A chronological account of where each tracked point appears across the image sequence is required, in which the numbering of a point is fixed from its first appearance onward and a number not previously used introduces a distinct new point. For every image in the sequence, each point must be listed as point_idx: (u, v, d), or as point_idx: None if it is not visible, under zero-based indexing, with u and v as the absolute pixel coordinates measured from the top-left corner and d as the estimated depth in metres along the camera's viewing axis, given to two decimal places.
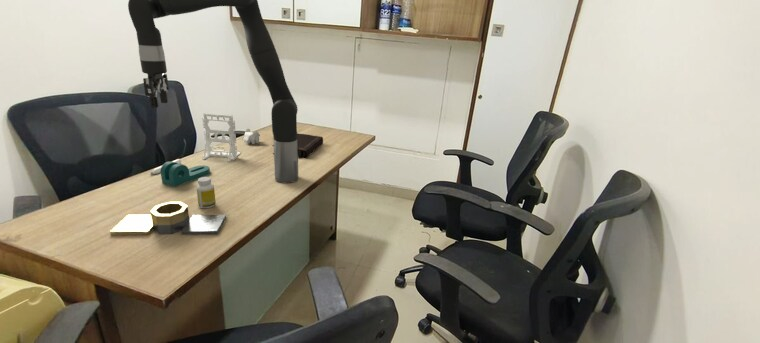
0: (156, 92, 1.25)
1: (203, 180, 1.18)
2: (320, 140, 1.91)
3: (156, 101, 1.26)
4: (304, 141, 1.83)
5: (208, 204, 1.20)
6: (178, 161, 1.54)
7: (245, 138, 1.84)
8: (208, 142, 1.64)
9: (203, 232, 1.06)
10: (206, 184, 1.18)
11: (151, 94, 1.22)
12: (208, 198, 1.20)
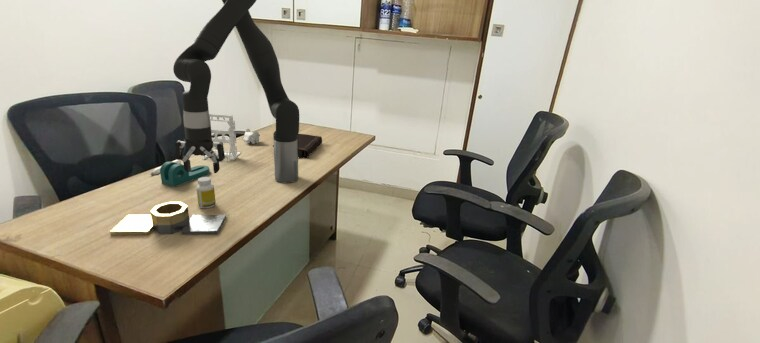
0: None
1: (203, 180, 1.18)
2: (319, 140, 1.91)
3: None
4: (303, 141, 1.83)
5: (208, 204, 1.20)
6: (178, 161, 1.54)
7: (245, 138, 1.84)
8: None
9: (203, 232, 1.06)
10: (206, 184, 1.18)
11: (224, 157, 1.18)
12: (208, 198, 1.20)
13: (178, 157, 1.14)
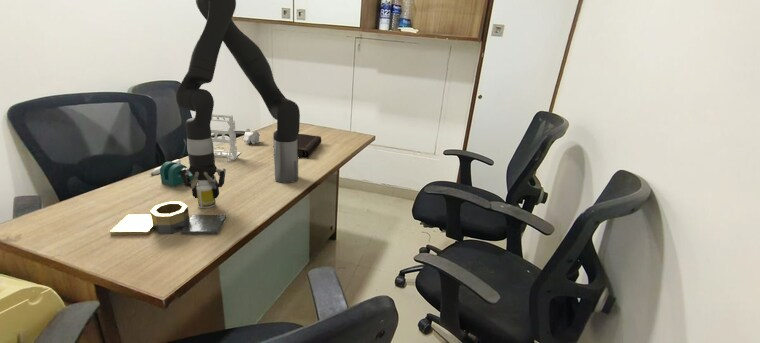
0: None
1: (203, 180, 1.18)
2: (319, 140, 1.91)
3: None
4: (303, 141, 1.83)
5: (208, 204, 1.20)
6: (178, 161, 1.54)
7: (245, 138, 1.84)
8: None
9: (203, 232, 1.06)
10: (206, 184, 1.18)
11: (223, 183, 1.21)
12: (208, 198, 1.20)
13: (186, 184, 1.18)
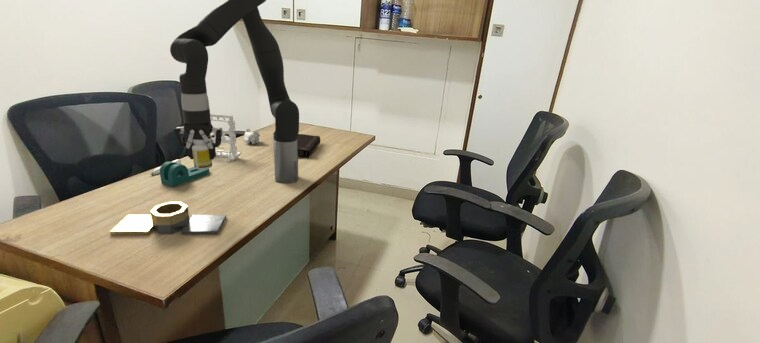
0: None
1: (199, 139, 1.13)
2: (318, 139, 1.91)
3: None
4: (303, 141, 1.83)
5: (204, 165, 1.15)
6: (178, 161, 1.54)
7: (245, 138, 1.84)
8: None
9: (203, 232, 1.06)
10: (202, 143, 1.13)
11: (220, 143, 1.16)
12: (204, 159, 1.14)
13: (181, 144, 1.13)
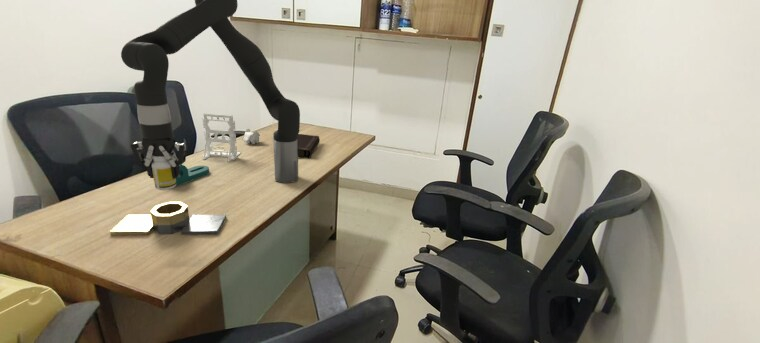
0: None
1: (159, 156, 1.00)
2: (317, 139, 1.91)
3: None
4: (303, 141, 1.83)
5: (166, 184, 1.01)
6: None
7: (245, 138, 1.84)
8: (208, 142, 1.64)
9: (203, 232, 1.06)
10: (163, 161, 1.00)
11: (184, 160, 1.03)
12: (166, 178, 1.01)
13: (139, 161, 0.99)
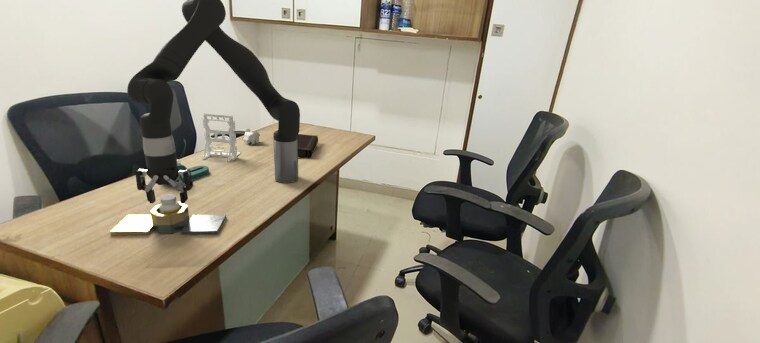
0: None
1: (166, 198, 1.04)
2: (316, 139, 1.92)
3: None
4: (303, 141, 1.83)
5: None
6: (177, 161, 1.53)
7: (245, 138, 1.84)
8: (208, 142, 1.64)
9: (203, 232, 1.06)
10: (170, 203, 1.05)
11: (192, 186, 1.06)
12: None
13: (139, 187, 1.02)
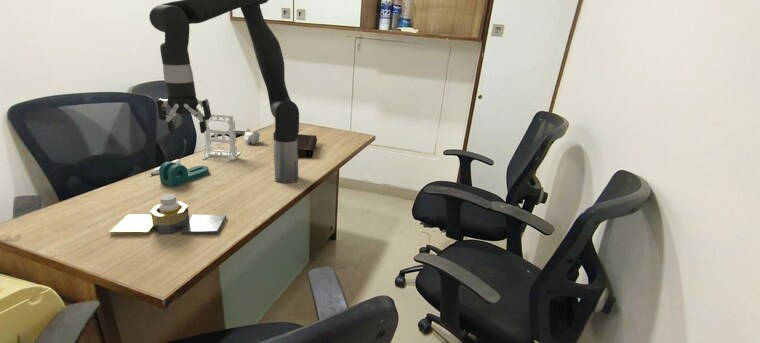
0: None
1: (166, 198, 1.04)
2: (315, 139, 1.92)
3: None
4: (303, 141, 1.83)
5: None
6: (177, 161, 1.53)
7: (245, 138, 1.84)
8: (208, 142, 1.64)
9: (203, 232, 1.06)
10: (170, 203, 1.05)
11: (210, 116, 1.11)
12: None
13: (161, 117, 1.07)
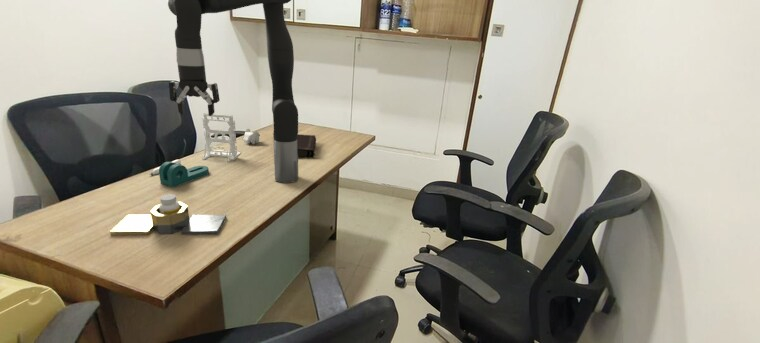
0: None
1: (166, 198, 1.04)
2: (315, 139, 1.92)
3: None
4: (302, 141, 1.83)
5: None
6: (178, 161, 1.53)
7: (245, 138, 1.84)
8: (208, 142, 1.64)
9: (203, 232, 1.06)
10: (170, 203, 1.05)
11: (218, 99, 1.17)
12: None
13: (172, 98, 1.13)
